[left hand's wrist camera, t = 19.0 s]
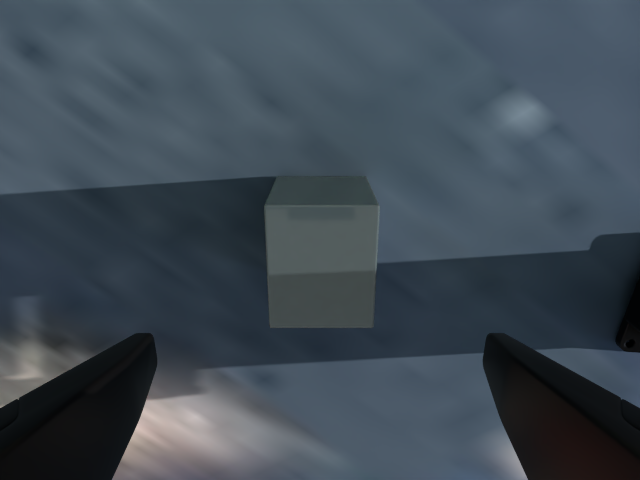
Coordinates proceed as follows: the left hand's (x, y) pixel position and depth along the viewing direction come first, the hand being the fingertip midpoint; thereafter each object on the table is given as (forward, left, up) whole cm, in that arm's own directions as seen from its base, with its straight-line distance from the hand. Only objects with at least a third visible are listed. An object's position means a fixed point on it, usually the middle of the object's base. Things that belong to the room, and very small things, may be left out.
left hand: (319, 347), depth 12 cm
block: (0, 0, -10) cm, 10 cm away
